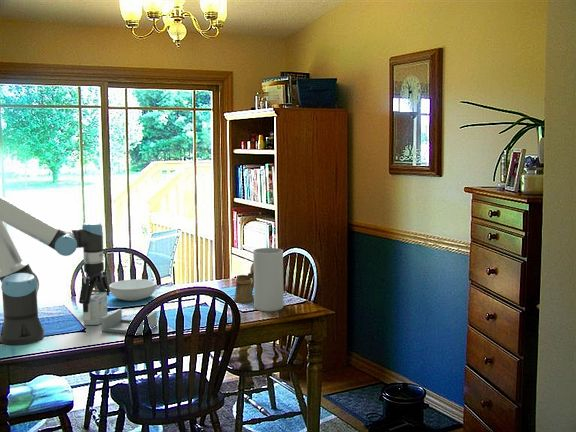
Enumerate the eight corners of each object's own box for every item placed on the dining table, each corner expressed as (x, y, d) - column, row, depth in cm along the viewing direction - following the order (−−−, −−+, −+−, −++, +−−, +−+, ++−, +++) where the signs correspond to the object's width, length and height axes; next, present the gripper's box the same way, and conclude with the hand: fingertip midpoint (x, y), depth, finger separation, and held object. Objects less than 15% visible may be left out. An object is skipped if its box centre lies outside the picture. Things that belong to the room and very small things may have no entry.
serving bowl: (166, 296, 306) (165, 281, 305) (134, 306, 288) (133, 291, 288) (132, 291, 317) (132, 276, 316) (99, 300, 299) (99, 285, 298)
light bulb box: (91, 317, 271) (90, 291, 270) (108, 317, 271) (107, 291, 270) (82, 324, 261) (81, 297, 259) (99, 325, 261) (99, 298, 259)
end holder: (141, 336, 247) (140, 320, 247) (101, 332, 252) (101, 317, 251) (157, 326, 260) (156, 311, 259) (119, 323, 264) (118, 308, 263)
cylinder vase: (288, 309, 283) (288, 251, 279) (263, 313, 276) (262, 254, 273) (274, 302, 293) (273, 246, 290) (249, 307, 287) (248, 249, 283)
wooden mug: (266, 299, 299) (265, 260, 296) (240, 304, 291) (239, 263, 289) (255, 295, 306) (255, 257, 304) (230, 300, 298) (229, 260, 296)
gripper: (85, 268, 251) (87, 324, 253) (117, 256, 273) (119, 308, 276) (68, 267, 253) (70, 323, 255) (101, 256, 275) (103, 307, 278)
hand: (95, 315), depth 266 cm, fingers closed on light bulb box, 11 cm apart
